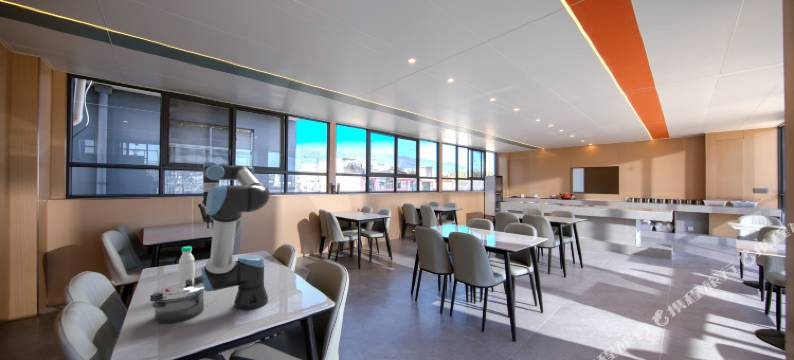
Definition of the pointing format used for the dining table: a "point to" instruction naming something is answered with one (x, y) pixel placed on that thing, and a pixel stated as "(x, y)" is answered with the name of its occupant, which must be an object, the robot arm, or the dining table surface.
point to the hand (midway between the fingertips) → (211, 234)
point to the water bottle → (186, 265)
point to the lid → (179, 290)
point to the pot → (179, 309)
